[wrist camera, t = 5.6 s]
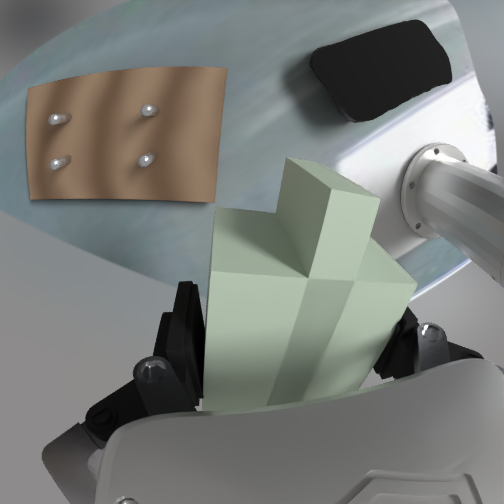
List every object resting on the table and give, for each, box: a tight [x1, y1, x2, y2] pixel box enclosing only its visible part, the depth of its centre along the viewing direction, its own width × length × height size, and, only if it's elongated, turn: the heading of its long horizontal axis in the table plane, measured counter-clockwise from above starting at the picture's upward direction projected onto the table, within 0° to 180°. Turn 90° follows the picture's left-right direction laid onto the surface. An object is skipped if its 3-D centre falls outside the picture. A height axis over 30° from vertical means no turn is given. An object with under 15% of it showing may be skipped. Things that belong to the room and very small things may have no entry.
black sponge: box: [310, 20, 452, 123], centre depth 21 cm, size 16×8×4 cm, turn 122°
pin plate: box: [26, 67, 227, 203], centre depth 22 cm, size 22×13×4 cm, turn 84°
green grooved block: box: [202, 157, 417, 411], centre depth 11 cm, size 12×6×5 cm, turn 172°
